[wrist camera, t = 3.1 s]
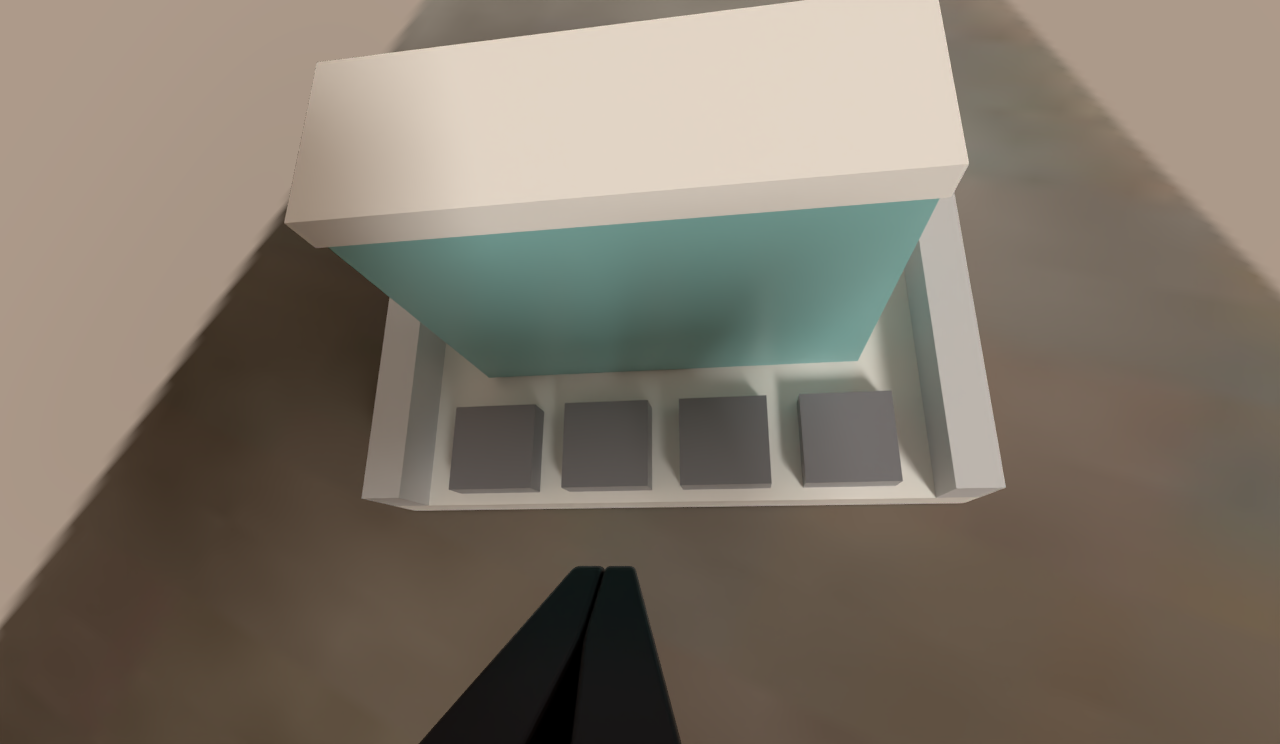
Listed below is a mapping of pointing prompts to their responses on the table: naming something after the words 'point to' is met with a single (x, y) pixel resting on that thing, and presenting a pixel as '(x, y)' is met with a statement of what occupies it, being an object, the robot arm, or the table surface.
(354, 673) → the table surface
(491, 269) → the teal and cream panel
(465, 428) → the white slotted tray
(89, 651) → the table surface
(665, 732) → the robot arm
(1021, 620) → the table surface
